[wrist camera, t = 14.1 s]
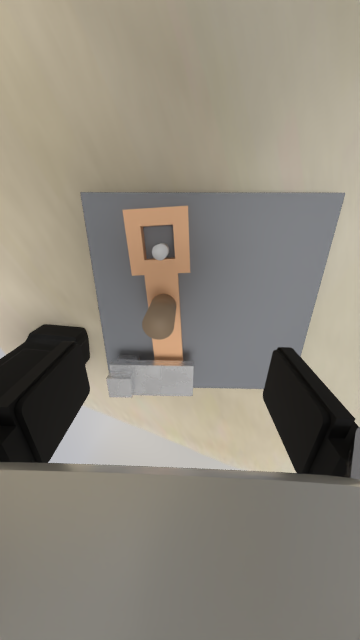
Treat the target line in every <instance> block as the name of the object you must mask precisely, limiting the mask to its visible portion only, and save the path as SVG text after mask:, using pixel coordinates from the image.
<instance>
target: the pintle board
mask: <svg viewBox="0 0 360 640" xmlns="http://www.w3.org/2000/svg"><path fill="white" fill-rule="evenodd" d="M80 193H81V199H82V206H83V212H84V218H85V225H86V231H87V237H88V243H89V250H90V256H91V262H92V269H93V275H94V281H95V288H96V294H97V300H98V306H99V313H100V319H101V325H102V332H103V338H104V344H105V351H106V357H107V363H108V369H109V373H110V363H111V361H112V360H117V358H118V356H119V355H139V359H140V360H155V359H154V351H153V342H152V338H151V337H149V336H148V335H147V334H146V333H145V332H144V330H143V327H142V321H143V318H144V316H145V314H146V312H147V310H148V301H147V293H146V285H145V276H144V275H136V276H132V273H131V266H130V259H129V252H128V245H127V238H126V231H125V224H124V217H123V210H127V209H143V208H158V207H174V206H188V221H189V250H190V273H178V279H179V296H180V314H181V331H182V348H183V361H193V364H194V369H193V388H242V389H264V387H265V382H266V378H267V374H268V370H269V366H270V362H271V357H272V353H273V351H274V350H277V348H278V347H291V348H293V349H294V350H295V352H296V353H297V354H298V355H299V356H301V353H302V349H303V345H304V342H305V338H306V334H307V331H308V327H309V323H310V320H311V316H312V313H313V309H314V305H315V302H316V298H317V294H318V291H319V287H320V284H321V280H322V276H323V273H324V269H325V265H326V262H327V258H328V254H329V251H330V247H331V244H332V240H333V236H334V233H335V229H336V225H337V222H338V218H339V214H340V211H341V207H342V204H343V200H344V196H345V193H129V192H80ZM143 231H144V240H145V249H146V258H147V259H152V258H155V259H157V260H163V259H165V258H170V257H175V249H174V233H173V225H165V226H149V227H143Z"/></svg>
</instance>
